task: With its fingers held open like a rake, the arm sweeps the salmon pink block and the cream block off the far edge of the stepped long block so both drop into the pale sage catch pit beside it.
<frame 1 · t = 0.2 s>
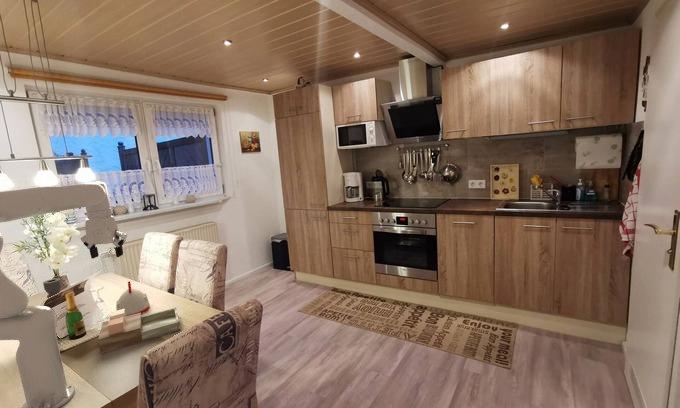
hand: (107, 256, 128), 36 cm above the table, tool pointing down, fingers open, 9 cm apart
salmon pink block: (117, 330, 131), point 6 cm above the table, touching stepped long block
stepped long block: (142, 332, 139), on the table
white dome with stick: (133, 311, 160), on the table
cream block: (118, 321, 138), point 6 cm above the table, touching stepped long block
candle holder: (63, 335, 142), on the table
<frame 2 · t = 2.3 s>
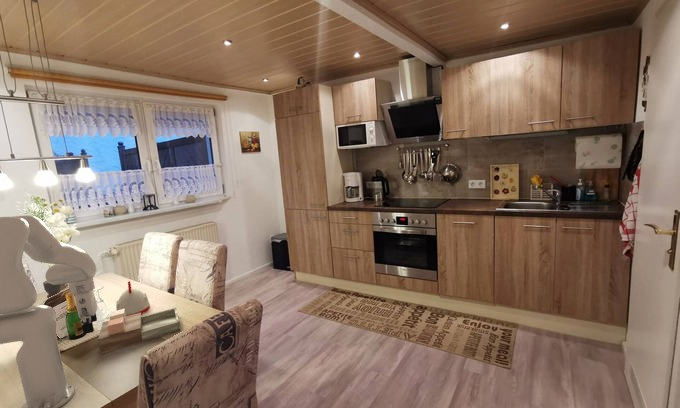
hand: (90, 327, 130), 8 cm above the table, tool pointing down, fingers open, 9 cm apart
nothing on the table moved.
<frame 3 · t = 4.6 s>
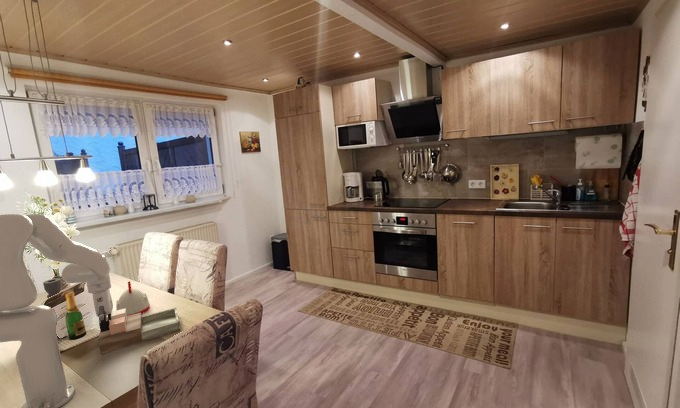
hand: (106, 325, 132), 7 cm above the table, tool pointing down, fingers open, 9 cm apart
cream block: (120, 320, 138), point 6 cm above the table, touching gripper
everything else where it was.
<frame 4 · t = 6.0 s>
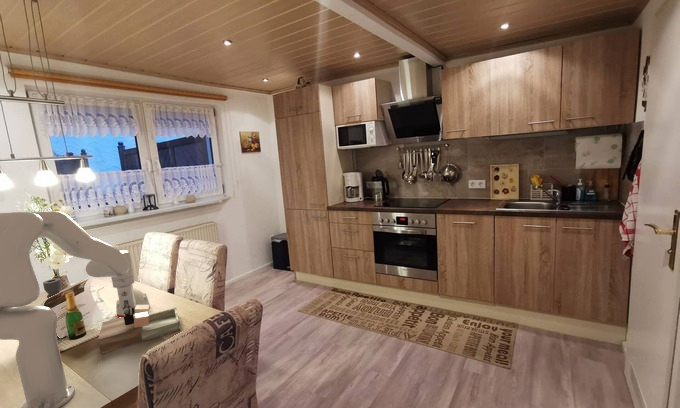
hand: (130, 319, 136), 7 cm above the table, tool pointing down, fingers open, 9 cm apart
salmon pink block: (141, 324, 135), point 6 cm above the table, tilted 6°, touching gripper
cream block: (140, 315, 142), point 6 cm above the table, tilted 15°
everything else where it was.
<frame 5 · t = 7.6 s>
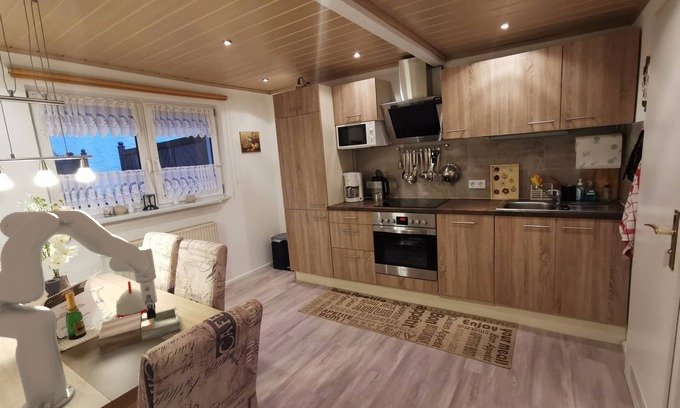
hand: (151, 313, 140), 7 cm above the table, tool pointing down, fingers open, 9 cm apart
salmon pink block: (142, 330, 135), point 3 cm above the table, tilted 90°, touching stepped long block
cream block: (143, 321, 142), point 3 cm above the table, tilted 90°, touching stepped long block
everything else where it was.
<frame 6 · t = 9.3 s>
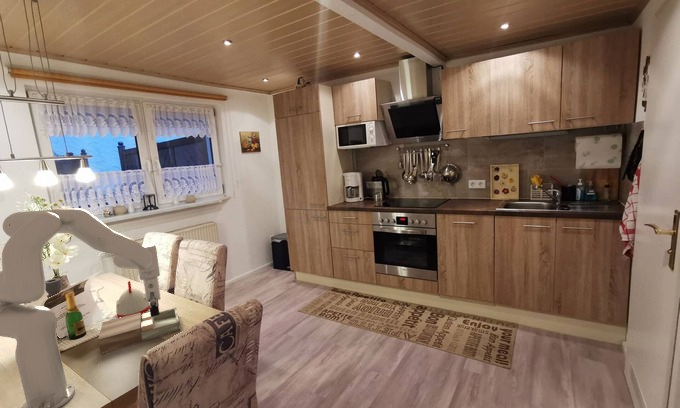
hand: (155, 311, 141), 8 cm above the table, tool pointing down, fingers open, 9 cm apart
nothing on the table moved.
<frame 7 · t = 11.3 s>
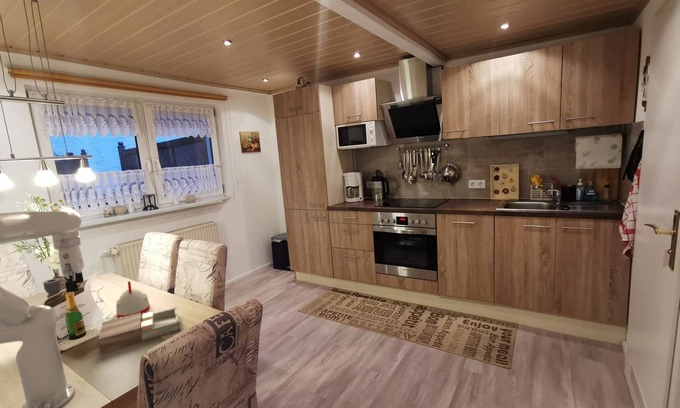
hand: (75, 287, 121), 28 cm above the table, tool pointing down, fingers open, 9 cm apart
nothing on the table moved.
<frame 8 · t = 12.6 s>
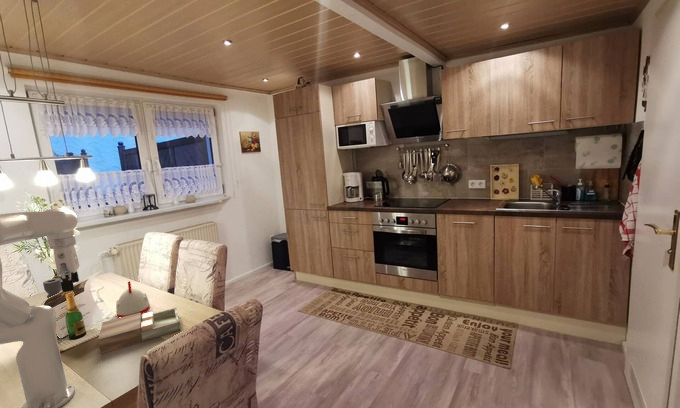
hand: (71, 286, 120), 28 cm above the table, tool pointing down, fingers open, 9 cm apart
nothing on the table moved.
at the end: salmon pink block inside the target area on the stepped long block (7.9 cm from its centre), point 3.3 cm above the stepped long block's base; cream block inside the target area on the stepped long block (7.3 cm from its centre), point 3.3 cm above the stepped long block's base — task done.
